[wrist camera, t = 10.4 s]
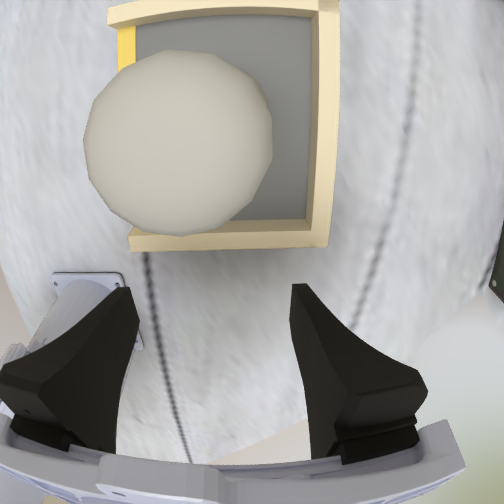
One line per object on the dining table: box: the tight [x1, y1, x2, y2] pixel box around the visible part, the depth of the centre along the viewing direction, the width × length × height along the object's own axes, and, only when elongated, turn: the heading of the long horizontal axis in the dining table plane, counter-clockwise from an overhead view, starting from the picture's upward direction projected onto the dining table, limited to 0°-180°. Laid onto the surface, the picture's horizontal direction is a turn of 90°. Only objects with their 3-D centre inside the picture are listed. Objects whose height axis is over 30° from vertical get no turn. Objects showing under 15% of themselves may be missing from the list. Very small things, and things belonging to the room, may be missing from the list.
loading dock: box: [107, 0, 340, 252], centre depth 17 cm, size 16×13×4 cm
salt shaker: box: [83, 50, 273, 237], centre depth 11 cm, size 6×6×13 cm
